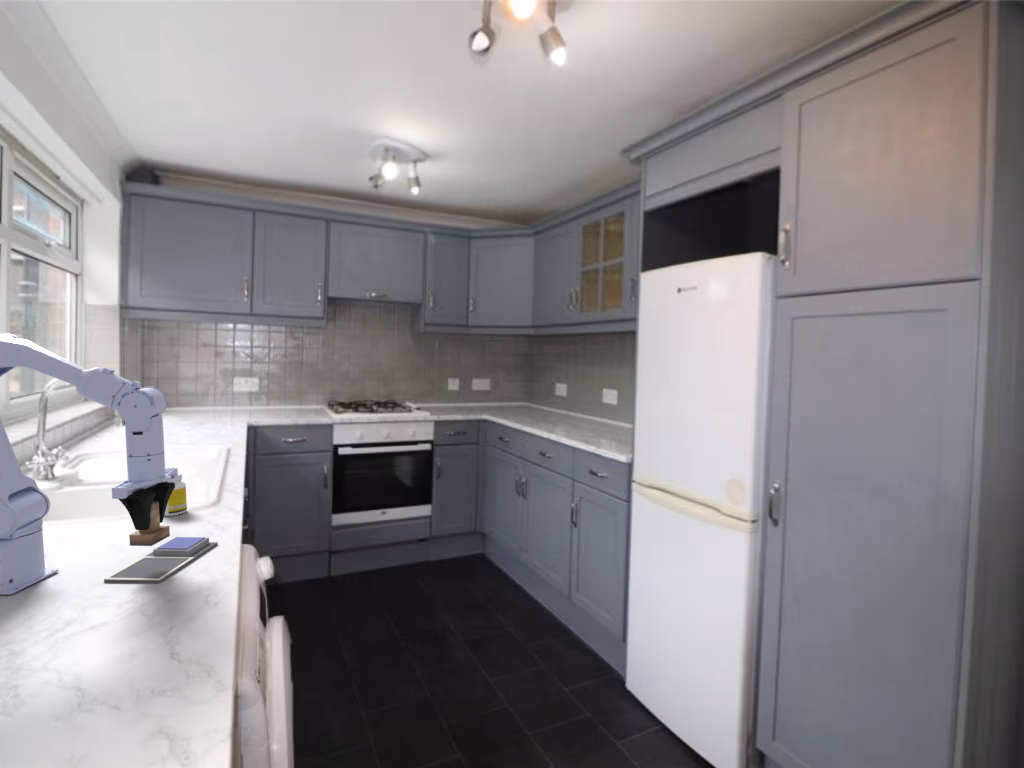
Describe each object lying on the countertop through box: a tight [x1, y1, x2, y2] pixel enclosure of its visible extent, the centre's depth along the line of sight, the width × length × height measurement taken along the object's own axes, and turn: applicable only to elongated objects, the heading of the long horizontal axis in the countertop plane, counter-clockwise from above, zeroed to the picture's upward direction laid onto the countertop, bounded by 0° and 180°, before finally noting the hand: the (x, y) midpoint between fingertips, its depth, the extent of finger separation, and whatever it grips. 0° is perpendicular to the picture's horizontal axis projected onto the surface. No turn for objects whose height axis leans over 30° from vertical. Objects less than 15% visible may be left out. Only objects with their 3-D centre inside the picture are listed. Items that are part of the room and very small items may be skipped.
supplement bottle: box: [164, 472, 188, 517], centre depth 132 cm, size 5×5×10 cm
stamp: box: [128, 501, 171, 547], centre depth 99 cm, size 5×4×7 cm
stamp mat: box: [103, 536, 219, 584], centre depth 103 cm, size 18×10×2 cm, turn 179°
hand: (149, 525), depth 99 cm, fingers closed on stamp, 3 cm apart
